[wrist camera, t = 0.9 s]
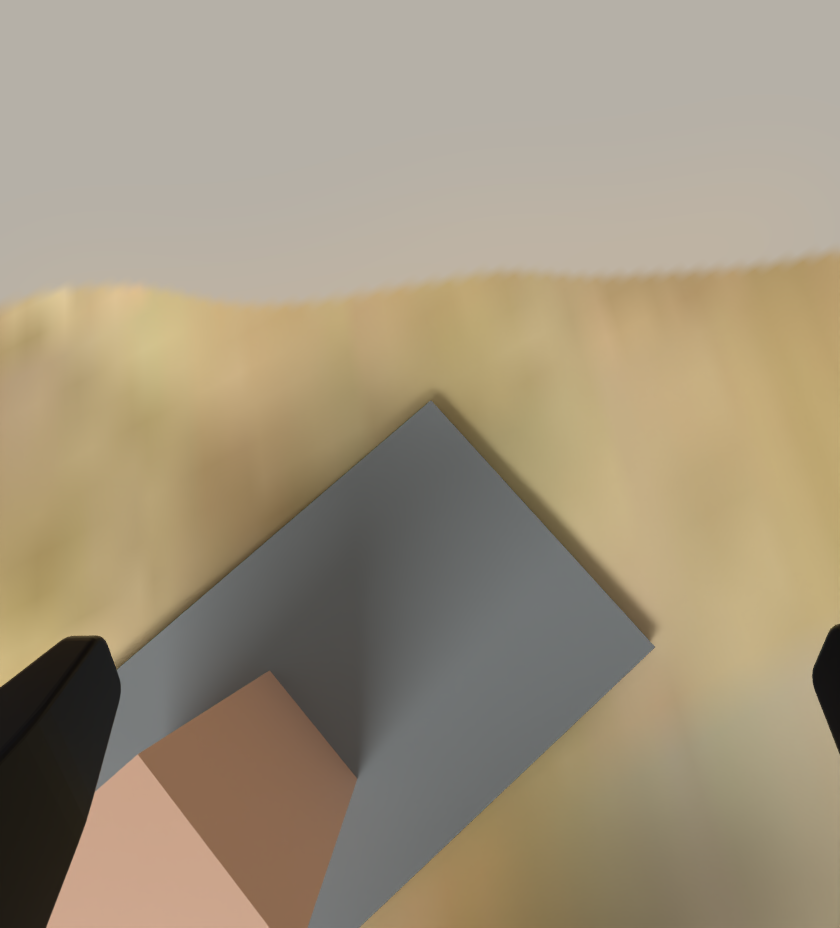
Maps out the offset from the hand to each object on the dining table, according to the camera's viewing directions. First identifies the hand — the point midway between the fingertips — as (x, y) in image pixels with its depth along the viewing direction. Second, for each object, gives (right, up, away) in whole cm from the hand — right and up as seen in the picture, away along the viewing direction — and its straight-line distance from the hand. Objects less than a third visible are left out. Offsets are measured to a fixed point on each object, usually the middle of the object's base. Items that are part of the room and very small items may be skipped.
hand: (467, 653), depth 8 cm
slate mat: (-3, -5, +12) cm, 13 cm away
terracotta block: (-5, -7, +11) cm, 14 cm away
